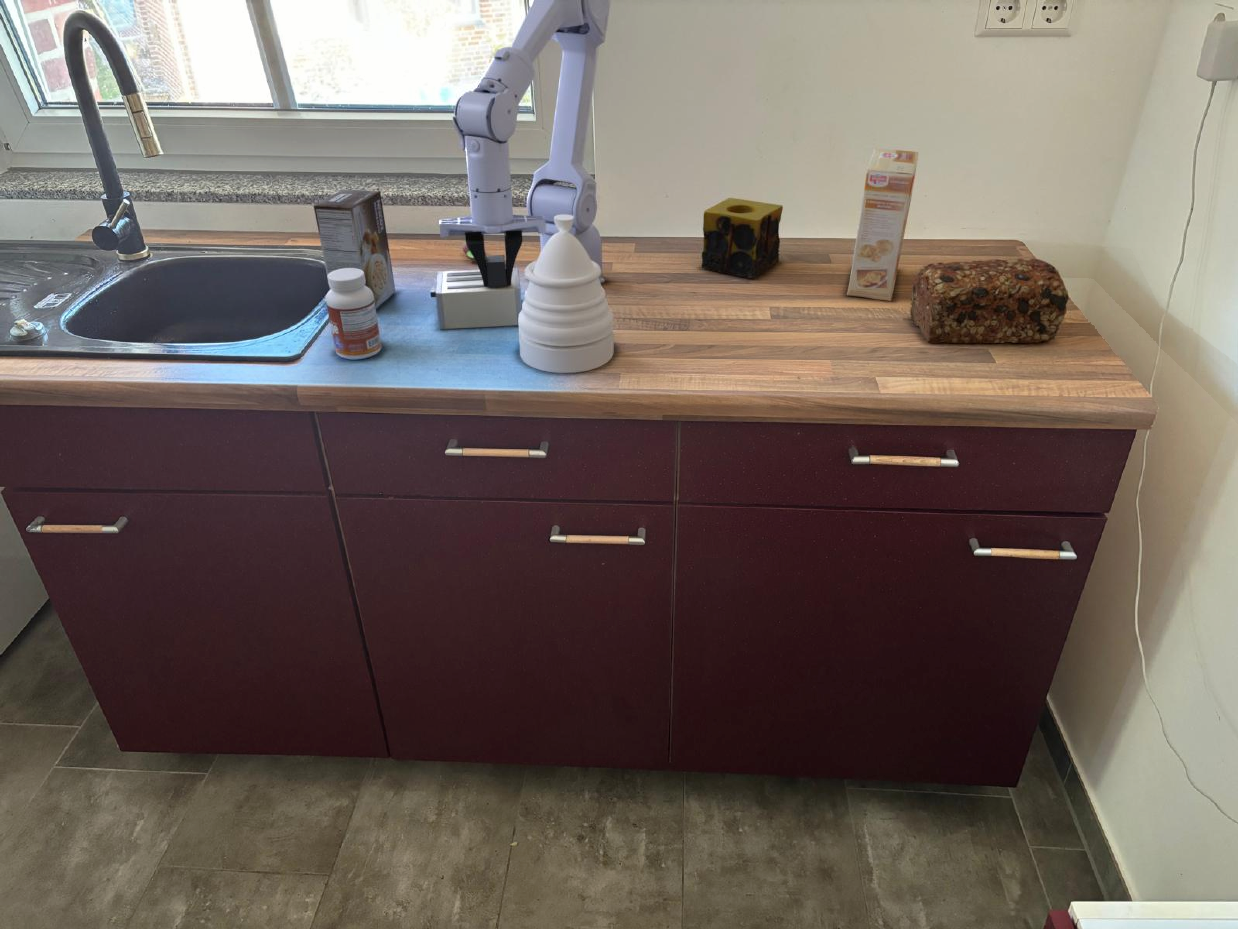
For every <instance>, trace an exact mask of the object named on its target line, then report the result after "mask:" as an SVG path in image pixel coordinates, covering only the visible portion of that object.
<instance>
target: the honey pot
mask: <svg viewBox="0 0 1238 929" xmlns="http://www.w3.org/2000/svg"><path fill="white" fill-rule="evenodd" d="M573 222H574V217H573V216H572V215H566V214H562V215H556V216H554V223H555V225H556V227H557V229H558V230H559V231H560V232H558V233H556V234H554V235H553V236H552V237H551V238H550V239H549V240H548V241H547V243H546V244H545V246H544V247H543V249H542V251H541V250H540V253H539V255H538V257H537V259H536V260H534V261H532V262H530V263H528V264H527V265H526V267H525V268H524V277H525V278H526V279H527V280H528V285H527V288H526V289H525V291H524V294H523V297H524V298H523V301H522V302H521V303H522V310H521V312H520V313H519V317H518V325H517V326H518V338H519V339H518V340H519V343H518V344H519V355H520V358H521V360H522V361H523V363H525V364H526V365H528V367H531V368H534V369H536V370H539V371H543V372H547V373H557V374H558V373H559V374H573V373H581V372H587V371H591V370H594V369H598V368H600V367H601V366H603V365H606V364H607V363H609V361H610V360H611V359H612V358H613V355H614V353H615V352H614V351H615V349H614V348H615V345H614V344H615V341H614V340H615V338H614V337H615V336H614V335H615V334H614V332H615V330H614V316H613V315H614V314H613V311H612V309H611V308H610V306H609V301H608V298H607V297H606V296H607V294H606V291H605V290H606V289H604V288H603V286H602V283H600V281H599V276H600V274H601V269H600V266H599V265H598V264H597V263H596V262H594V261H592V260H591V259H590V258H589V256H588V254H587V252H586V250H585V249H584V247H583V246H582V244H581V243H580V242H579V241H578V240H577V238H576V237H574V236H573V235H572V234H570V233H568V232H569V230H570V229H571V227H572V225H573Z"/></svg>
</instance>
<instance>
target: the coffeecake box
mask: <svg viewBox="0 0 1238 929" xmlns="http://www.w3.org/2000/svg"><path fill="white" fill-rule="evenodd" d="M918 158H919V152H917V151H910V150H899V149H898V150H897V149H885V148H884V149H883V148H874V150H873V152H872V155H871V158H870V160H869V163H868V165H867V168H866V175H865V182H864V188H863V193H862V200H861V205H860V212H859V219H858V225H857V233H856V239H855V245H854V249H853V256H852V263H851V271H850V276H849V280H848V281H849V282H848V288H847V293H846V295H847V296H848V297H860V298H867V299H873V300H879V301H880V300H881V301H888V302H890V301H892V299H893V293H894V288H895V283H896V279H897V275H898V269H899V264H900V261H901V260H900V259H901V254H902V249H903V244H904V238H905V234H906V228H907V222H908V219H909V218H908V217H909V211H910V206H911V201H912V196H913V189H914V184H915V178H916V173H917V171H916V170H917V165H918Z"/></svg>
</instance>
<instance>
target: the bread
mask: <svg viewBox="0 0 1238 929" xmlns="http://www.w3.org/2000/svg"><path fill="white" fill-rule="evenodd" d="M1070 299H1071V298H1070V297H1069V292H1068V290H1067V288H1066V285H1065V282H1064V280H1063V278H1062V276H1061V275H1060V272H1059V270H1058V269H1056V267H1055V266H1054V265H1053V264H1051V263H1049V262H1047V261H1045V260H1042V259H1040V258H1015V259H1013V258H1011V259H1005V260H1003V259H997V258H995V259H987V260H983V259H979V260H972V261H963V260H962V261H950V262H949V261H948V262H946V261H945V262H933V263H929V264H927V265H924V266H922V267H921V268H919V269H918V271H917V272H916V276H915V278H914V281H913V286H912V292H911V298H910V301H911V302H910V312H909V315H910V318H911V319H912V320H913V324H914V326H916V327H918V328H919V329H920V333H921V335H922V336H923V337H924V338H925V340H926V341H927V343H931V344H933V345H934V344H941V343H948V344H961V343H963V344H975V343H977V344H981V343H982V344H997V343H999V344H1004V343H1012V344H1017V343H1019V344H1029V343H1036V344H1037V343H1041V342H1042V341H1043V342H1051V341H1053V340H1055V339H1056V337H1057V335H1058V331H1059V330H1060V327H1061V325H1062V322H1063V321H1064V320H1065V317H1066V314H1067V310H1068V308H1067V305H1068V304H1067V303H1068V301H1069V300H1070Z"/></svg>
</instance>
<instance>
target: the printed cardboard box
mask: <svg viewBox="0 0 1238 929" xmlns="http://www.w3.org/2000/svg"><path fill="white" fill-rule="evenodd" d="M381 193H382V192H381V190H364V189H347V188H346V189H340V190H339V191H337V192H335V193H333V194H332V195H330V196H328V197H325V199H322V200H321V201H319V202H317V203H316V204H314V205H313V210H314V216H315V220H316V226H317V230H318V236H319V242H320V246H321V252H322V257H323V261H324V266H325V272H326V277H327V276H328V274H329V273H330V272H332V271H335V270H338V269H343V268H357V269H360V270H362V271H363V272H364V275H365V280H366V281H365V286H367V287H368V288H370V289H371V291H372V292H373V296H374V301H375V308H376V309H378V308H379V307H380V306H381V305H383V304H384V302H386V301H387V300H388V299H389V298H390V297H392V295H394V294H395V293H396V286H395V280H394V279H395V278H394V273H393V266H392V260H391V252H390V247H389V239H388V233H387V227H386V221H385V214H384V213H385V212H384V207H383V200H382V194H381ZM328 289H329V291H330V290H331V288H330V287H329V288H328Z"/></svg>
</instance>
